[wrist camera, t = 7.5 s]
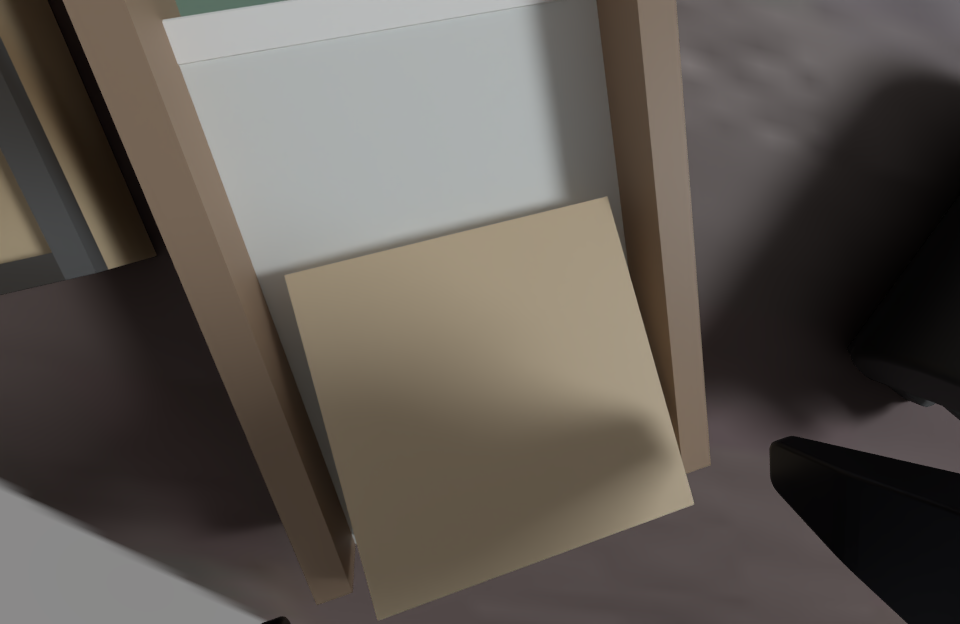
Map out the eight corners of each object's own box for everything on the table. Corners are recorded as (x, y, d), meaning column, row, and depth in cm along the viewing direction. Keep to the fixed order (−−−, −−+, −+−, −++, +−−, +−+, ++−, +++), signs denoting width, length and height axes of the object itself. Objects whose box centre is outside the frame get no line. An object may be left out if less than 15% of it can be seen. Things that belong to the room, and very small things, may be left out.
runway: (645, 411, 14) (775, 517, 10) (329, 515, 13) (303, 699, 8) (541, -458, 9) (730, -1203, 4) (-39, -454, 7) (-787, -1623, 3)
